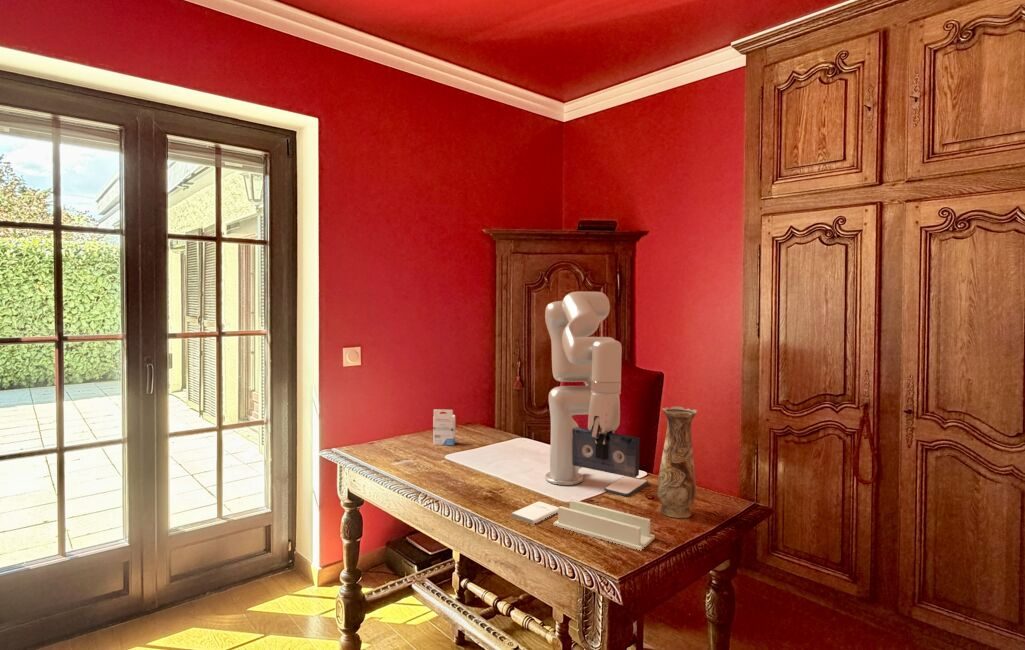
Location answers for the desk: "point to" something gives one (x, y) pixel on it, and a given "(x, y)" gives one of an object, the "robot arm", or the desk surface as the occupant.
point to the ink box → (443, 427)
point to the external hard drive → (535, 512)
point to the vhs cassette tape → (619, 453)
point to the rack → (605, 524)
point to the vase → (677, 464)
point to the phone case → (626, 486)
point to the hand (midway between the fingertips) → (604, 456)
